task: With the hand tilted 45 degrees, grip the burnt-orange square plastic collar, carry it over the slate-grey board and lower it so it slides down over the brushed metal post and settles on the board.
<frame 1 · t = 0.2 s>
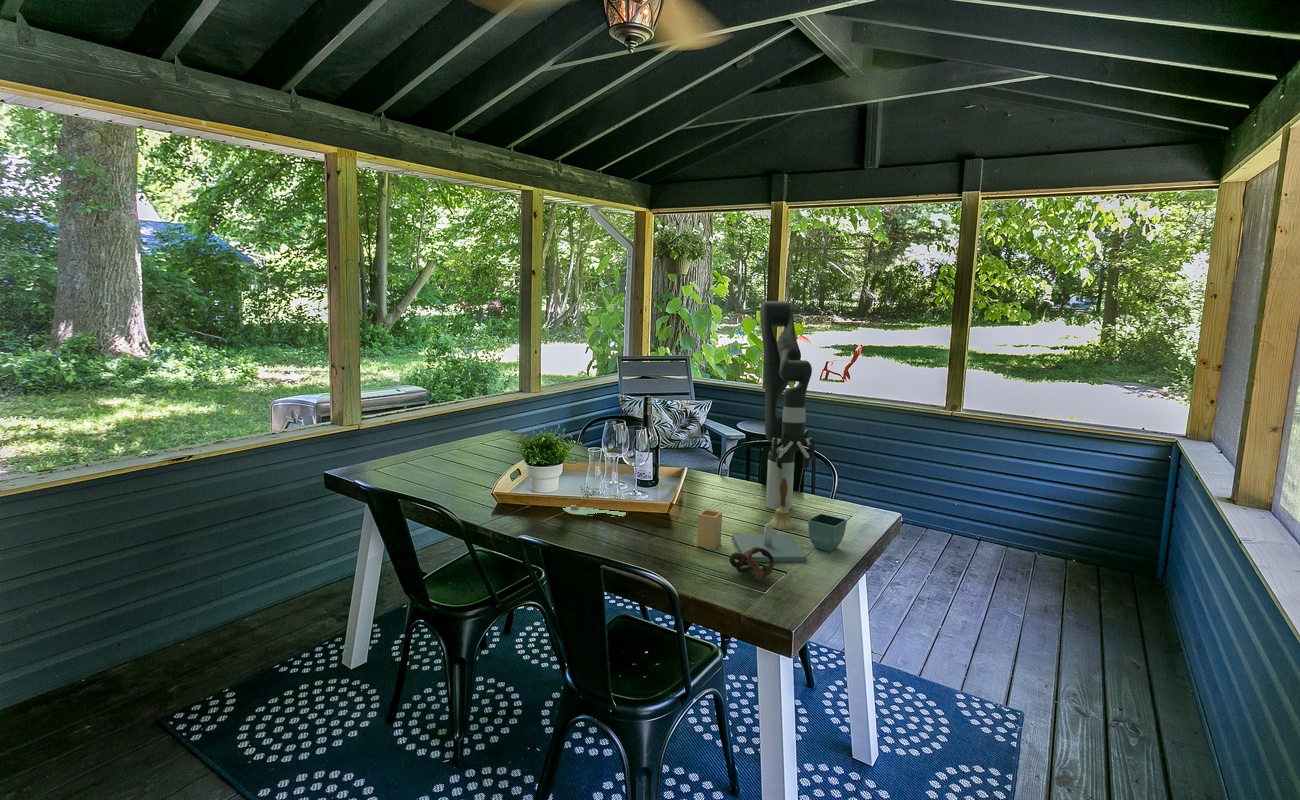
hand: (792, 468, 222), 18 cm above the table, tool pointing down, fingers open, 8 cm apart
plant: (596, 509, 233), on the table
flower pot: (825, 548, 200), on the table
collar: (708, 545, 200), on the table
hand bell: (781, 526, 219), on the table
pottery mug: (750, 574, 181), on the table
post board: (767, 549, 198), on the table
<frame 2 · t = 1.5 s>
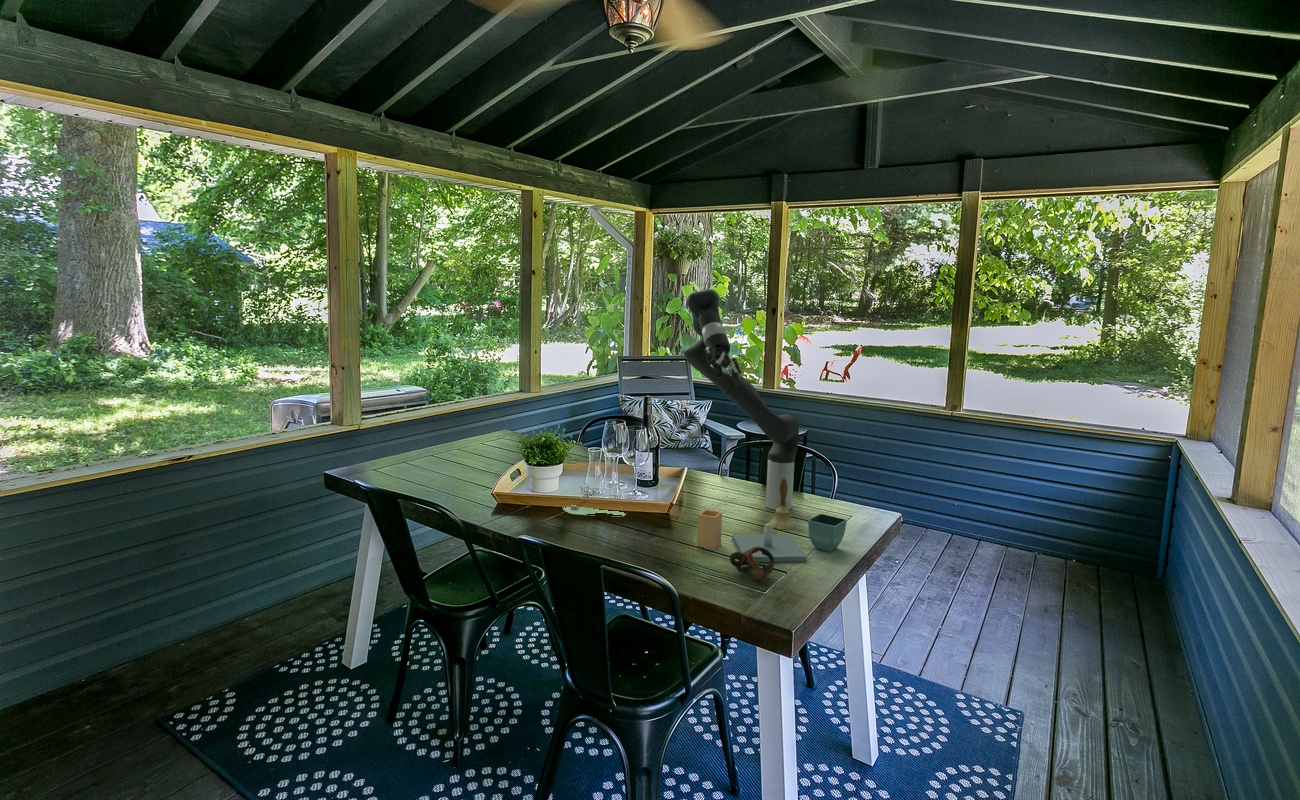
hand: (729, 380, 206), 48 cm above the table, tool tilted 45°, fingers open, 8 cm apart
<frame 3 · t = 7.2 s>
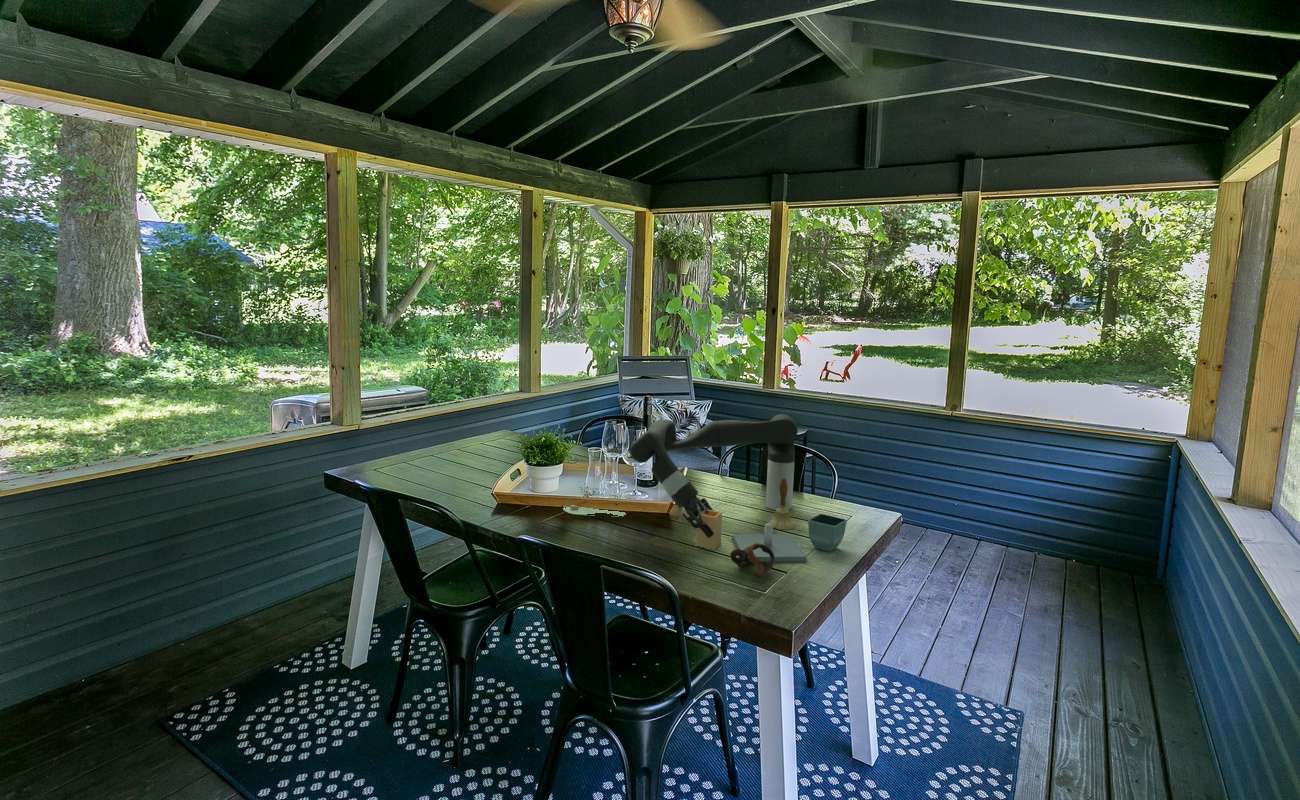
hand: (714, 532, 199), 4 cm above the table, tool tilted 45°, fingers closed on collar, 5 cm apart
collar: (708, 545, 200), on the table, touching gripper
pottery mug: (751, 570, 183), on the table
everything else where it was.
when the fingers open (7 cm above the table, at t = 14.4 s): collar drops 1 cm, resting on post board.
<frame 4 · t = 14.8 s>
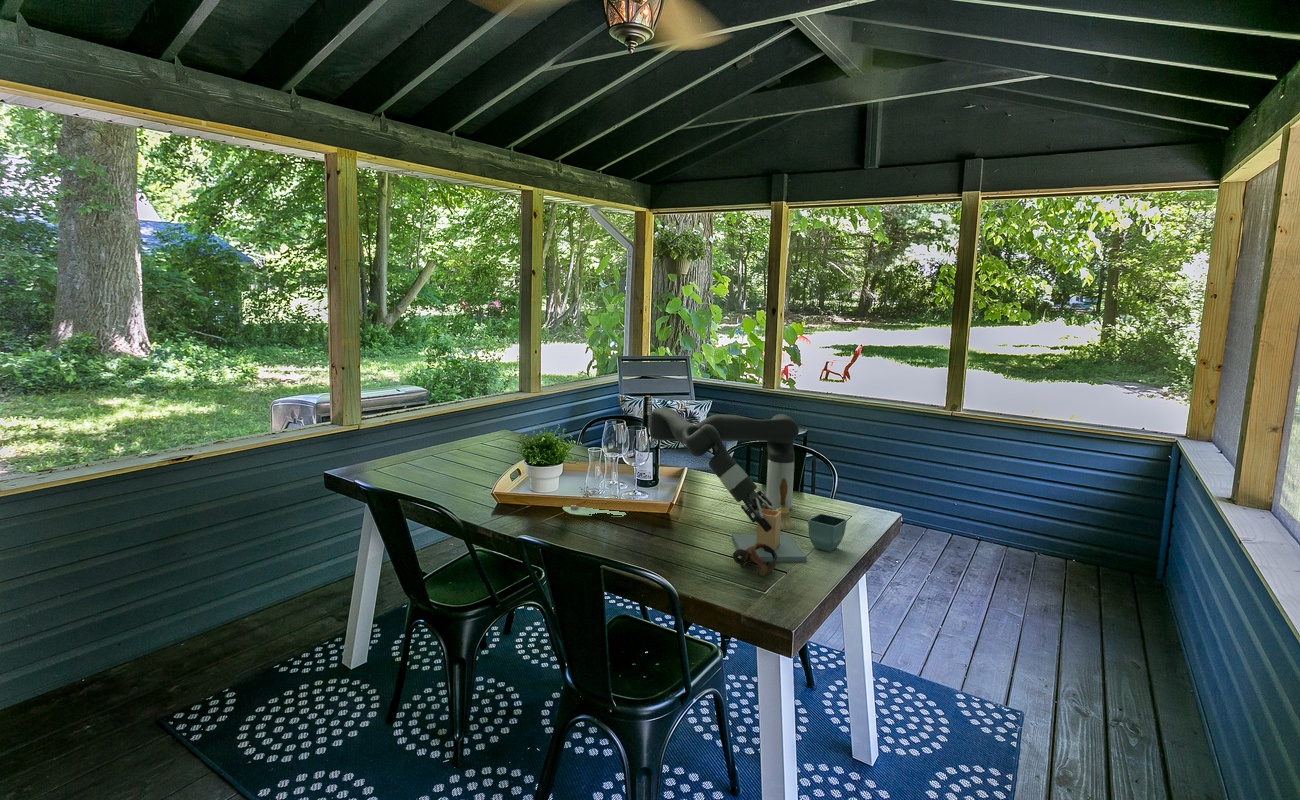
hand: (773, 525, 196), 8 cm above the table, tool tilted 45°, fingers open, 8 cm apart
collar: (767, 544, 198), point 1 cm above the table, touching post board
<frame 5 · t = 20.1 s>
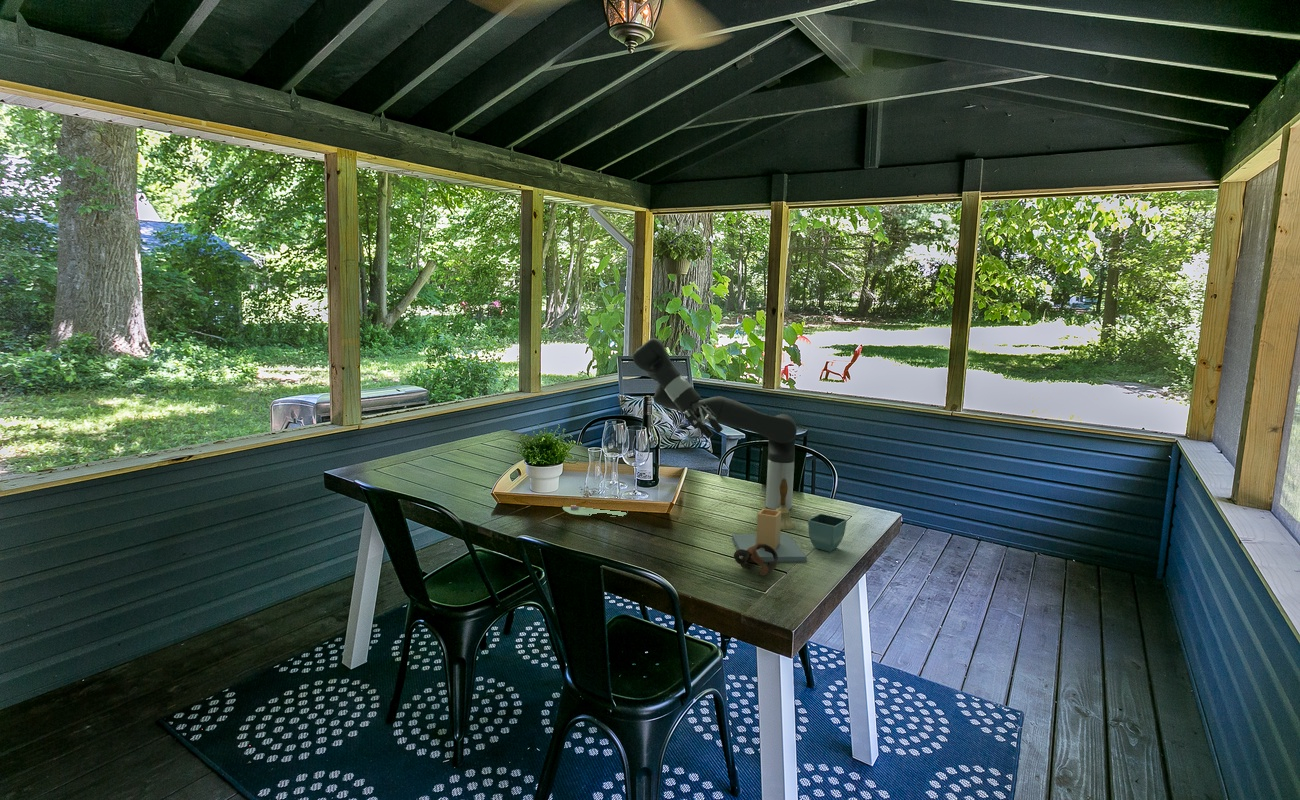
hand: (715, 434, 203), 33 cm above the table, tool tilted 45°, fingers open, 8 cm apart
nothing on the table moved.
at the end: collar 0.1 cm from the post board (horizontally); collar point 1.5 cm above the table; collar tilted 0° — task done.
